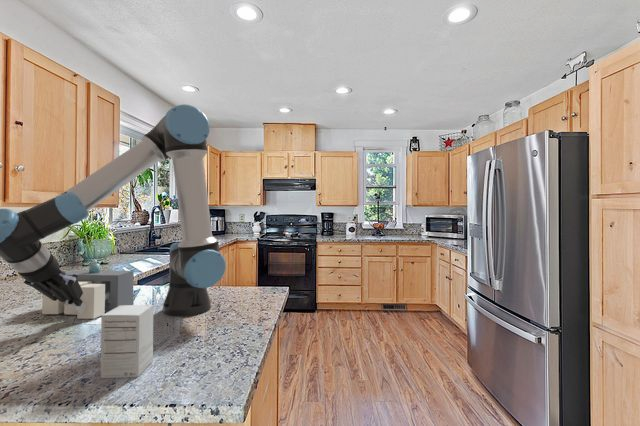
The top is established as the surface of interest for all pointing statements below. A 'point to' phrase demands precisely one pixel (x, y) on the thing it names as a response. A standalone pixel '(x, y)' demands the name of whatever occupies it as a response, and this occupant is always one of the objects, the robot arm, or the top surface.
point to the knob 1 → (52, 306)
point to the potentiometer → (94, 267)
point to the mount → (107, 286)
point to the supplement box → (126, 341)
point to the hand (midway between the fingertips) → (81, 309)
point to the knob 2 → (93, 301)
